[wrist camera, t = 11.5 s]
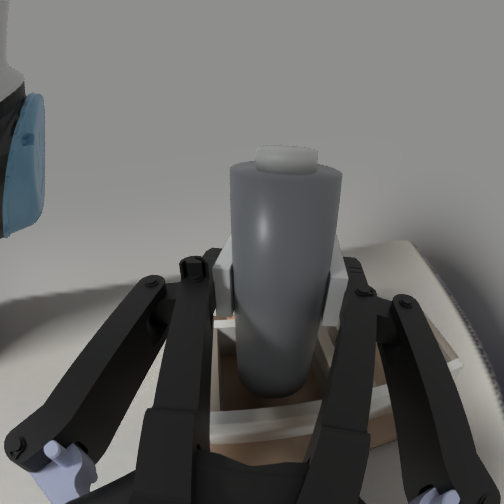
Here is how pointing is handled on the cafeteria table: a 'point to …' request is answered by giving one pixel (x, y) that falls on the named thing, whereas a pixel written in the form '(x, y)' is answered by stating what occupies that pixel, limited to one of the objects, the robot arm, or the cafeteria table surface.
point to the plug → (280, 263)
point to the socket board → (287, 402)
